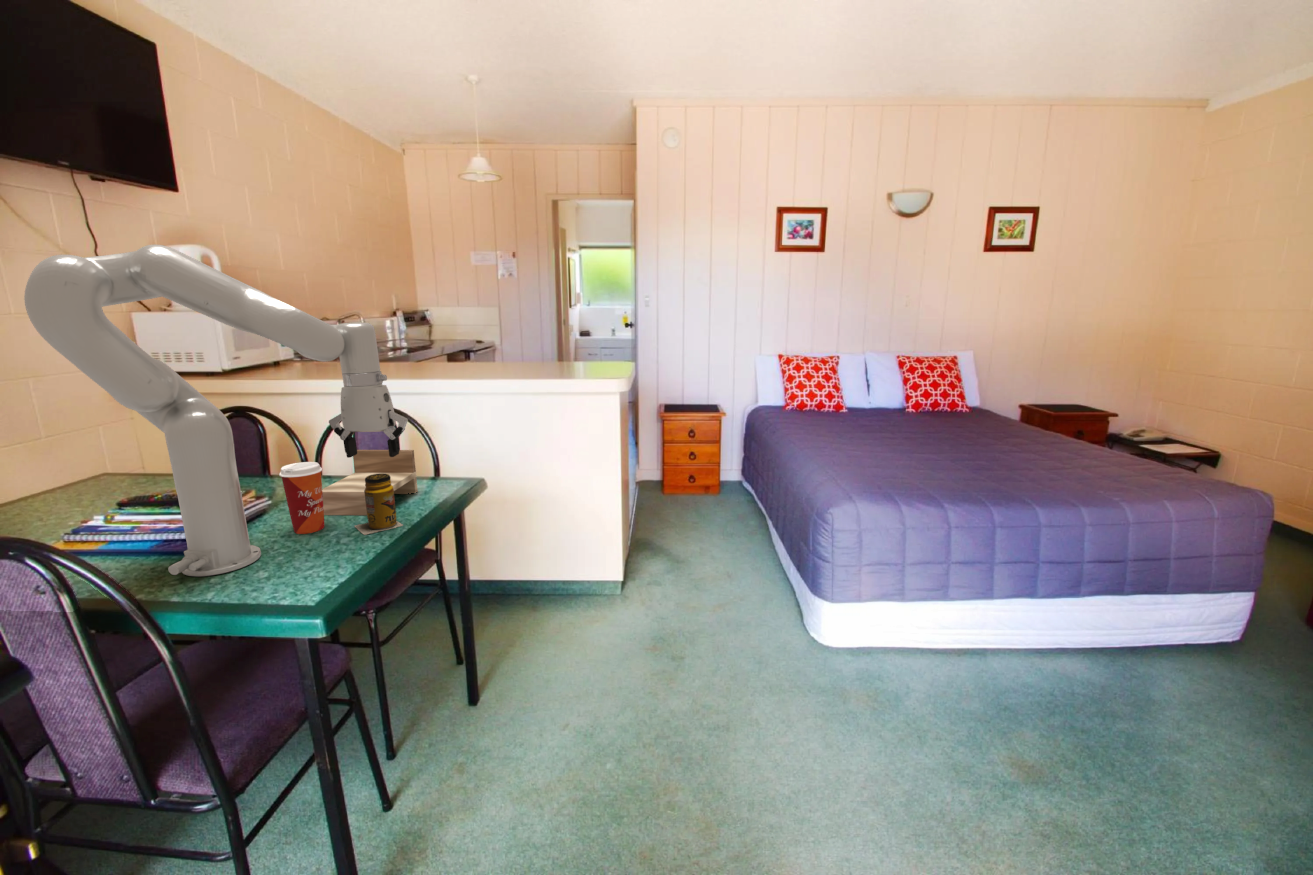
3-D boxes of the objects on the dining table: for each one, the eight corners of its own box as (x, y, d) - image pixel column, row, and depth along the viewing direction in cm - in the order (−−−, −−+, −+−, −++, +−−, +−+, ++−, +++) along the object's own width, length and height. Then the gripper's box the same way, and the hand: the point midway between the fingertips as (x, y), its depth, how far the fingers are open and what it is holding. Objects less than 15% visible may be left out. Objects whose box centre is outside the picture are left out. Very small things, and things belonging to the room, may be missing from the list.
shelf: (385, 515, 137) (380, 468, 135) (320, 514, 138) (314, 467, 135) (417, 492, 155) (413, 449, 152) (360, 491, 155) (355, 449, 153)
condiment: (403, 525, 131) (398, 476, 128) (364, 535, 125) (358, 484, 122) (392, 517, 136) (386, 470, 133) (354, 527, 130) (347, 477, 127)
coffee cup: (310, 537, 124) (301, 471, 121) (279, 534, 126) (268, 469, 122) (338, 523, 132) (330, 461, 129) (308, 521, 134) (299, 460, 130)
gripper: (409, 377, 126) (418, 451, 130) (333, 378, 127) (345, 451, 131) (393, 382, 119) (403, 459, 123) (313, 383, 120) (325, 460, 124)
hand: (373, 455), depth 127 cm, fingers open, 9 cm apart
